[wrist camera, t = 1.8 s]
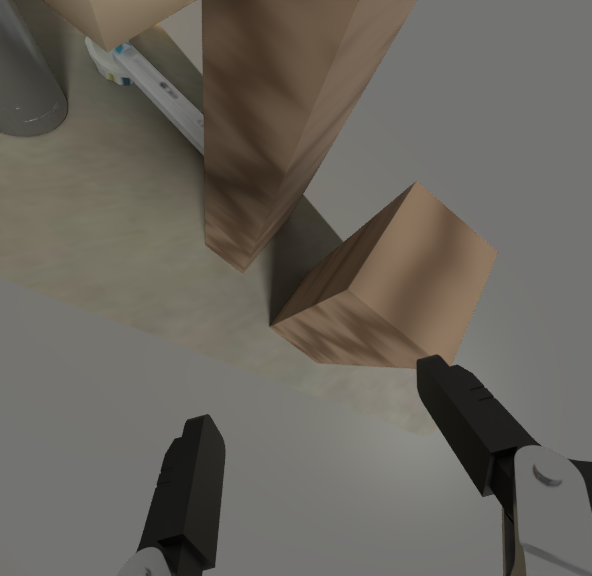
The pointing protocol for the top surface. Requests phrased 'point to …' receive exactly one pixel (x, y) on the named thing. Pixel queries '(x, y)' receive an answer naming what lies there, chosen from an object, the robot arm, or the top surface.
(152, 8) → the oak rail
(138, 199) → the top surface
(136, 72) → the white tube with head
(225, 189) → the walnut post
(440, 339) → the low walnut block
